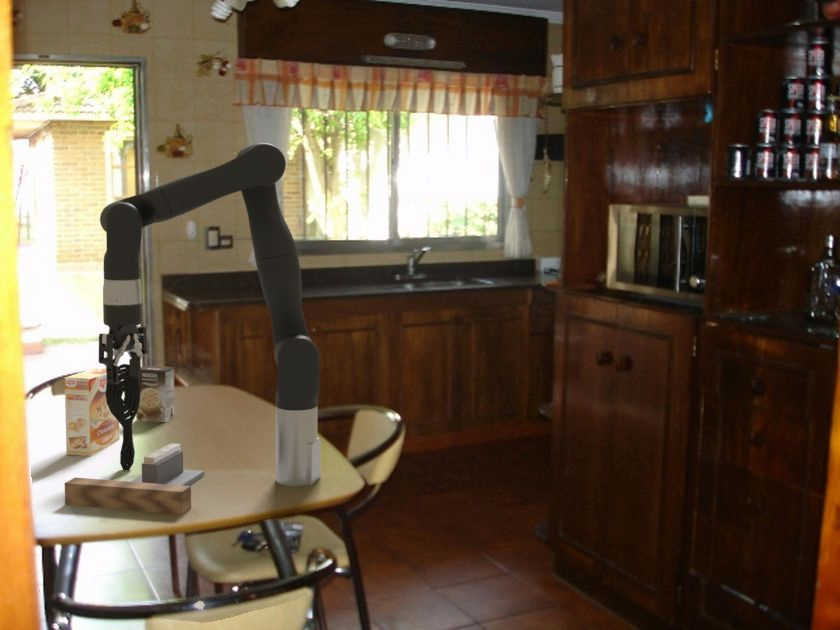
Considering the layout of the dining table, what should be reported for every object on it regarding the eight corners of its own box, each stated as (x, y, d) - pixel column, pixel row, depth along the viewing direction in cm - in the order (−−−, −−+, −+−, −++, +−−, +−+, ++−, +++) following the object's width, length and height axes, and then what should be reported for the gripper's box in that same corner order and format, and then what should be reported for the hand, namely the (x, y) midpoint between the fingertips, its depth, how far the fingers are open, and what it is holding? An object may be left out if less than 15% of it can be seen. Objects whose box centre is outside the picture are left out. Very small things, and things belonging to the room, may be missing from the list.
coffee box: (135, 425, 262) (133, 369, 261) (145, 420, 269) (144, 365, 267) (165, 427, 261) (164, 370, 259) (175, 422, 267) (174, 366, 265)
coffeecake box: (91, 456, 230) (89, 378, 228) (65, 455, 231) (62, 377, 229) (121, 441, 245) (119, 368, 242) (96, 440, 246) (94, 367, 244)
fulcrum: (204, 477, 214) (203, 443, 213) (170, 498, 199) (170, 461, 198) (156, 473, 217) (155, 439, 216) (119, 493, 201) (118, 457, 201)
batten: (191, 509, 193) (190, 486, 192) (182, 516, 189) (182, 492, 188) (75, 500, 198) (75, 477, 197) (65, 506, 194) (64, 482, 193)
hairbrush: (147, 468, 221) (145, 363, 218) (140, 472, 217) (138, 366, 214) (114, 466, 222) (111, 362, 219) (107, 470, 218) (104, 365, 215)
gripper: (119, 305, 182) (121, 387, 184) (157, 298, 196) (158, 375, 197) (85, 304, 184) (87, 385, 185) (125, 297, 197) (126, 373, 199)
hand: (124, 380), depth 191 cm, fingers open, 8 cm apart
